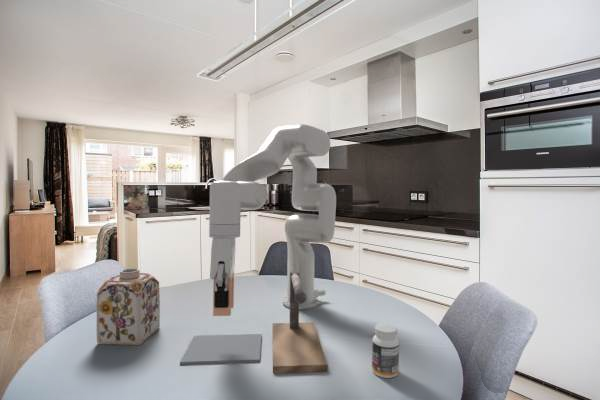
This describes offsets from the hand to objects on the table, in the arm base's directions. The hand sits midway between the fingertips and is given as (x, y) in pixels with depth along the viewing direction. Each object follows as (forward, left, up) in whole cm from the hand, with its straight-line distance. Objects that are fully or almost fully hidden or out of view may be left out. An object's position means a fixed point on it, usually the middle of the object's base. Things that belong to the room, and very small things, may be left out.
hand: (223, 301), depth 83 cm
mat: (0, 0, -12) cm, 12 cm away
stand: (-16, +8, -12) cm, 22 cm away
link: (0, 0, -2) cm, 2 cm away
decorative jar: (+20, -20, -12) cm, 31 cm away
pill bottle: (-27, +28, -12) cm, 41 cm away
